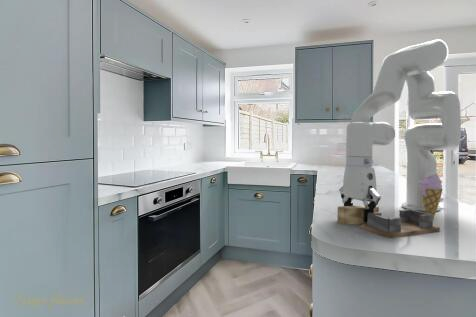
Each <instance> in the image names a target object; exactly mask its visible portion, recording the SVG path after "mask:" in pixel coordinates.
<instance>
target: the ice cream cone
mask: <svg viewBox="0 0 476 317" xmlns="http://www.w3.org/2000/svg"><path fill="white" fill-rule="evenodd" d="M442 183H443V181H442V180H441V178H440V177H439V175H438V173H437V172H436V173H435V174H434V175H430V176H429V175H428V176H426V177H423V181H421V182H419V184H420V186H419V188H420V190H421V195H422V199H423V203H424V207H425V211H424V212H425V213H429V214H433V219H435V215H436V213H437V211H436V210H437V208H438V206H440V205H439V204H440V202H439V201H440V198H441V197H442V194H443V186H442V185H443V184H442Z"/></svg>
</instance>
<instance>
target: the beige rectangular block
mask: <svg viewBox="0 0 476 317" xmlns="http://www.w3.org/2000/svg"><path fill="white" fill-rule="evenodd" d="M379 208H380V206H378V205H377V206H376V208H375V209H374V212H380V209H379ZM364 209H366V208H365V206H364V204H363V205H353V206H344V205H341V206H337V223H339V224H341V225H343V226H344V225H345V226H347V225H346V224H348V225H358V224H359V225H360V224H361V225H363V224H367V222H364V221H363V219H364Z"/></svg>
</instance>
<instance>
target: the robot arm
mask: <svg viewBox="0 0 476 317" xmlns="http://www.w3.org/2000/svg"><path fill="white" fill-rule="evenodd" d="M448 56H449V47H448V45H447V44H446V42H445V41H443V40H442V39H434V40H431V41H430V40H429V41H426V42H422V43H418V44H415V45H410V46H407V47H404V48H401V49H399V50H397V51H396V52H393V53H391V54H388V55H387V56H386V57H385V58H384V59H383V61H382V64H381V66H380V69H379V72H378V75H377V79H376V82H375V85H374V89H373V91H372V92H371V94H369V96H367V97H366V98H365V99H364V100H363V101H362V102H361V104H360V105H359V106H358V107H357V108H356V109H355V111H354V112H353V114H352V116H351V120H350V122H349V123H348V124H347V126H346V132H345V133H346V135H345V136H346V138H345V139H346V141H345V142H346V143H345V146H346V147H345V167H344V172H343V173H344V174H343V183H342V186H341V187H339V193H340V198H341V199H342V203H343V206H354V204H353V203H354V202H353V200H356V201H361V202H363V205H364V206H365V208H366V209H364V219H363V221H364V222H368V213H374V209H375V208H376V206H377V207H378V205H379V202H380V201H381V198H382V197H381V195H380V194H379V193H378V190H377V189H378V188H377V177H376V172H375V171H376V170H375V168H374V167H373V164H374V160H373V147H384V146H387V145H391V143H392V142H394V139H395V137H396V130H395V128H394V126H393V125H391V124H390V123H388V122H386V121H380V122H379V121H378V122H377V121H376V122H369V121H370V120H371V118H372V117H373V116H375V115H376V114H377V113H379V112H381V111H383V110H385V109H387V108H388V107H390V106H392V105H394V104H396V103H397V102H398V101H399V100H400V99H401V98H402V97H401V96H402V93H403V89H404V87H405V83H406V86H407V87H406V88H407V102H408V106H407V108H408V115H409V118H410V119H411V120H414V121H434V120H435V121H436V120H440V123H420V124H419V123H418V124H415V125H410V126H409V127H408V128H407V129H406V131H405V132H404V140H405V141H404V142H405V147H406V160H407V162H406V164H407V165H406V194H405V195H406V198H405V199H406V200H405V201H406V202H404V201H403V202H402V203H401V207H402V208H403V209H412V210H416V211H420V212H426V211H425V207H424V203H423V199H422V195H421V190H420V188H419V186H420V184H419V182H421V181H423V177H426V176H428V175H429V176H430V175H434V174H435V173H436V174H437V168H438V167H437V165H438V164H437V160H436V157H435V156H434V154H433V153H432V152H431V151H449V150H454V149H457V148H458V147H459V146H460V143H461V139H462V138H461V137H462V126H461V125H462V119H461V114H462V113H461V102H460V99H459V96H458V95H457V94H456V93H455V92H453V91H449V90H448V91H446V90H445V91H439V92H436V90H435V79H434V78H435V77H433V75H432V74H431V72H430V71H432V70H433V71H434V69H437V68H438V67H440V66H442V65H443V64H444V63H445V61H447V59H448ZM444 201H445V200H444V197H442V196H441V198H440V201H439V203H443V202H444ZM439 211H441V206H440V205H438V208H437V210H436V212H439Z"/></svg>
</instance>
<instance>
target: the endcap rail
mask: <svg viewBox="0 0 476 317" xmlns="http://www.w3.org/2000/svg"><path fill="white" fill-rule="evenodd" d="M433 222H434V218H433V214H429V213H426V211H419V210H412V209H407V208H405V209H399V211H398V216H396V217H385V216H382V212H380V211H379V212H374V213H368V222H367V223H363V224H361V225H360V226H361V230H366V231H369V232H371V233H374V234H377V235H379V236H383V237H385V238H388V239H391V238H392V239H393V238H399V237H400V238H401V237H405V236H406V237H407V236H414V235H424V234H429V233H438V232H440V230H441V229H440V227H438V226H434V225H433Z"/></svg>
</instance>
